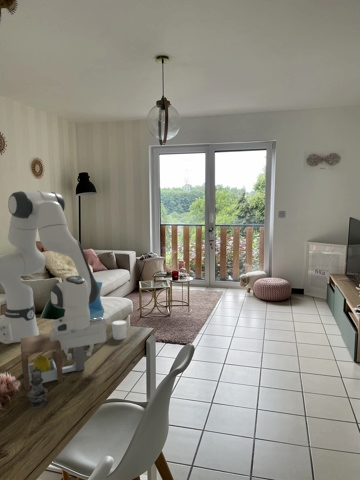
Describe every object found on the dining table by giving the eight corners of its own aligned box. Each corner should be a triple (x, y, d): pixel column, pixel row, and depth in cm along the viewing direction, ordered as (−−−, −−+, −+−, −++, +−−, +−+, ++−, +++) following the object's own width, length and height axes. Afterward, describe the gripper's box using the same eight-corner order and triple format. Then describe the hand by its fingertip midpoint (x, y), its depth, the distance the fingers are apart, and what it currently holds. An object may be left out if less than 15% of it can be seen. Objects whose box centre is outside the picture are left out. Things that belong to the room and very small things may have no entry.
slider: (29, 385, 123) (27, 360, 121) (27, 374, 131) (25, 350, 130) (86, 373, 131) (85, 349, 130) (81, 362, 139) (80, 340, 138)
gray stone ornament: (31, 398, 115) (29, 362, 114) (50, 397, 116) (48, 361, 114) (25, 409, 109) (22, 371, 108) (45, 408, 110) (43, 370, 108)
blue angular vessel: (89, 342, 159) (86, 286, 156) (73, 338, 164) (70, 284, 161) (104, 335, 167) (102, 282, 164) (89, 331, 172) (87, 279, 169)
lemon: (34, 382, 125) (33, 360, 124) (33, 376, 130) (31, 354, 129) (51, 379, 128) (50, 357, 127) (49, 372, 132) (48, 351, 131)
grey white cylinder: (124, 340, 161) (123, 325, 160) (109, 339, 162) (109, 324, 161) (129, 334, 168) (129, 320, 167) (115, 333, 169) (114, 319, 168)
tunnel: (25, 390, 120) (22, 352, 119) (22, 373, 132) (20, 338, 130) (62, 381, 125) (60, 345, 124) (57, 366, 137) (55, 332, 136)
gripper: (103, 314, 140) (104, 348, 141) (47, 322, 131) (49, 359, 132) (108, 319, 134) (109, 354, 136) (49, 328, 125) (51, 366, 127)
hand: (79, 357), depth 134 cm, fingers open, 5 cm apart
